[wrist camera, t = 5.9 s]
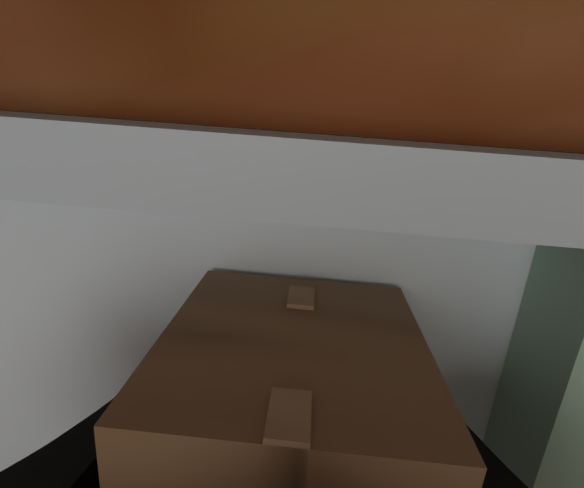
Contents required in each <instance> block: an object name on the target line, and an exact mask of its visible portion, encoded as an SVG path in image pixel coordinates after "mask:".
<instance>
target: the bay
mask: <svg viewBox="0 0 584 488" xmlns="http://www.w3.org/2000/svg"><path fill="white" fill-rule="evenodd" d="M207 271H219V272H230V273H241V274H253V275H264V276H275V277H286V278H297V279H308V280H319V281H330V282H341V283H352V284H364V285H375V286H386V287H397V288H401V290H402V292H403V294H404V297H405V299H406V301H407V303H408V305H409V307H410V309H411V311H412V313H413V315H414V317H415V319H416V322H417V324H418V326H419V328H420V330H421V332H422V334H423V336H424V338H425V340H426V342H427V344H428V347H429V349H430V351H431V353H432V355H433V357H434V359H435V361H436V363H437V365H438V367H439V369H440V372H441V374H442V376H443V378H444V380H445V382H446V384H447V386H448V388H449V390H450V392H451V394H452V397H453V399H454V401H455V403H456V405H457V407H458V409H459V411H460V413H461V415H462V417H463V420H464V422H465V423H466V424H467V425H468V426H469V427H470V429H471V430H472V431H473V432H474V433H475V434H476V435H477V436H478V437H479V438H480V439H481V440H482V441H483V443H484V444H485V445H486V446H487V447H488V448H489V449H490V450H491V451H492V452H493V453H494V454H495V455H496V456H497V457H498V458H499V459H500V460H501V461H502V462H503V463H504V464H505V465H506V466H507V467H508V468H509V469H510V470H511V471H512V472H513V473H514V474H515V475H516V476H517V477H518V478H519V479H520V480H521V481H522V482H523V483H524V484H525V485H526V486H527V487H528V488H584V154H578V153H564V152H551V151H537V150H524V149H511V148H497V147H484V146H471V145H457V144H444V143H430V142H417V141H404V140H390V139H377V138H363V137H350V136H337V135H323V134H310V133H296V132H283V131H270V130H256V129H243V128H230V127H216V126H203V125H189V124H176V123H163V122H149V121H136V120H122V119H109V118H96V117H82V116H69V115H56V114H42V113H29V112H15V111H2V110H0V472H1V471H2V470H4V469H6V468H8V467H9V466H11V465H13V464H15V463H16V462H18V461H20V460H22V459H23V458H25V457H27V456H29V455H30V454H32V453H33V452H35V451H37V450H38V449H40V448H42V447H43V446H45V445H46V444H48V443H50V442H51V441H53V440H54V439H56V438H57V437H59V436H60V435H62V434H63V433H65V432H66V431H68V430H69V429H71V428H72V427H74V426H75V425H77V424H78V423H79V422H81V421H82V420H84V419H85V418H87V417H88V416H90V415H91V414H93V413H94V412H95V411H97V410H98V409H100V408H101V407H102V406H104V405H105V404H106V403H108V402H109V401H110V400H112V399H113V398H114V397H115V396H116V395H117V394H118V392H119V391H120V390H121V388H122V387H123V385H124V384H125V383H126V381H127V380H128V379H129V377H130V376H131V375H132V373H133V372H134V370H135V369H136V368H137V366H138V365H139V364H140V362H141V361H142V360H143V358H144V357H145V355H146V354H147V353H148V351H149V350H150V349H151V347H152V346H153V345H154V343H155V342H156V340H157V339H158V338H159V336H160V335H161V334H162V332H163V331H164V330H165V328H166V327H167V325H168V324H169V323H170V321H171V320H172V319H173V317H174V316H175V315H176V313H177V312H178V311H179V309H180V308H181V306H182V305H183V304H184V302H185V301H186V300H187V298H188V297H189V296H190V294H191V293H192V291H193V290H194V289H195V287H196V286H197V285H198V283H199V282H200V281H201V279H202V278H203V276H204V275H205V274H206V272H207Z"/></svg>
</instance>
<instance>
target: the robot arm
mask: <svg viewBox="0 0 584 488" xmlns="http://www.w3.org/2000/svg"><path fill="white" fill-rule="evenodd" d="M114 398H115V397H114ZM114 398H113V399H114ZM113 399H112V400H113ZM112 400H110V401H109V402H108V403H106V404H105V405H104V406H102V407H101V408H100V409H98V410H97V411H95V412H94V413H93V414H91V415H90V416H88V417H87V418H85V419H84V420H82V421H81V422H79V423H78V424H77V425H75V426H74V427H72V428H71V429H69V430H68V431H66V432H65V433H63V434H62V435H60V436H59V437H57V438H56V439H54V440H53V441H51V442H50V443H48V444H46V445H45V446H43V447H42V448H40V449H38V450H37V451H35V452H33V453H32V454H30V455H29V456H27V457H25V458H23V459H22V460H20V461H18V462H16V463H15V464H13V465H11V466H9V467H8V468H6V469H4V470H2V471H1V472H0V488H100V483H99V474H98V464H97V454H96V445H95V435H94V425H95V424H96V422H97V421H98V419H99V418H100V417H101V415H102V414H103V413H104V411H105V410H106V409H107V407H108V406H109V405H110V403H111V402H112ZM465 424H466V423H465ZM466 426H467V428H468V430H469V432H470V434H471V436H472V438H473V440H474V442H475V445H476V447H477V449H478V451H479V453H480V455H481V457H482V459H483V461H484V463H485V465H486V467H487V471H486V474H485V478H484V481H483V485H482V488H528V487H527V486H526V485H525V484H524V483H523V482H522V481H521V480H520V479H519V478H518V477H517V476H516V475H515V474H514V473H513V472H512V471H511V470H510V469H509V468H508V467H507V466H506V465H505V464H504V463H503V462H502V461H501V460H500V459H499V458H498V457H497V456H496V455H495V454H494V453H493V452H492V451H491V450H490V449H489V448H488V447H487V446H486V445H485V444H484V443H483V441H482V440H481V439H480V438H479V437H478V436H477V435H476V434H475V433H474V432H473V431H472V430H471V429H470V427H469V426H468V425H467V424H466Z"/></svg>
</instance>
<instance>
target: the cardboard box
mask: <svg viewBox="0 0 584 488" xmlns="http://www.w3.org/2000/svg"><path fill="white" fill-rule="evenodd" d="M94 435H95V445H96V454H97V464H98V474H99V483H100V488H482V485H483V481H484V478H485V474H486V471H487V467H486V465H485V463H484V461H483V459H482V457H481V455H480V453H479V451H478V449H477V447H476V445H475V442H474V440H473V438H472V436H471V434H470V432H469V430H468V428H467V426H466V424H465V422H464V420H463V417H462V415H461V413H460V411H459V409H458V407H457V405H456V403H455V401H454V399H453V397H452V394H451V392H450V390H449V388H448V386H447V384H446V382H445V380H444V378H443V376H442V374H441V372H440V369H439V367H438V365H437V363H436V361H435V359H434V357H433V355H432V353H431V351H430V349H429V347H428V344H427V342H426V340H425V338H424V336H423V334H422V332H421V330H420V328H419V326H418V324H417V322H416V319H415V317H414V315H413V313H412V311H411V309H410V307H409V305H408V303H407V301H406V299H405V297H404V294H403V292H402V290H401V288H397V287H386V286H375V285H364V284H352V283H341V282H330V281H319V280H308V279H297V278H286V277H275V276H264V275H253V274H241V273H230V272H219V271H207V272H206V274H205V275H204V276H203V278H202V279H201V281H200V282H199V283H198V285H197V286H196V287H195V289H194V290H193V291H192V293H191V294H190V296H189V297H188V298H187V300H186V301H185V302H184V304H183V305H182V306H181V308H180V309H179V311H178V312H177V313H176V315H175V316H174V317H173V319H172V320H171V321H170V323H169V324H168V325H167V327H166V328H165V330H164V331H163V332H162V334H161V335H160V336H159V338H158V339H157V340H156V342H155V343H154V345H153V346H152V347H151V349H150V350H149V351H148V353H147V354H146V355H145V357H144V358H143V360H142V361H141V362H140V364H139V365H138V366H137V368H136V369H135V370H134V372H133V373H132V375H131V376H130V377H129V379H128V380H127V381H126V383H125V384H124V385H123V387H122V388H121V390H120V391H119V392H118V394H117V395H116V396H115V398H114V399H113V400H112V402H111V403H110V405H109V406H108V407H107V409H106V410H105V411H104V413H103V414H102V415H101V417H100V418H99V419H98V421H97V422H96V424H95V425H94Z"/></svg>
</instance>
